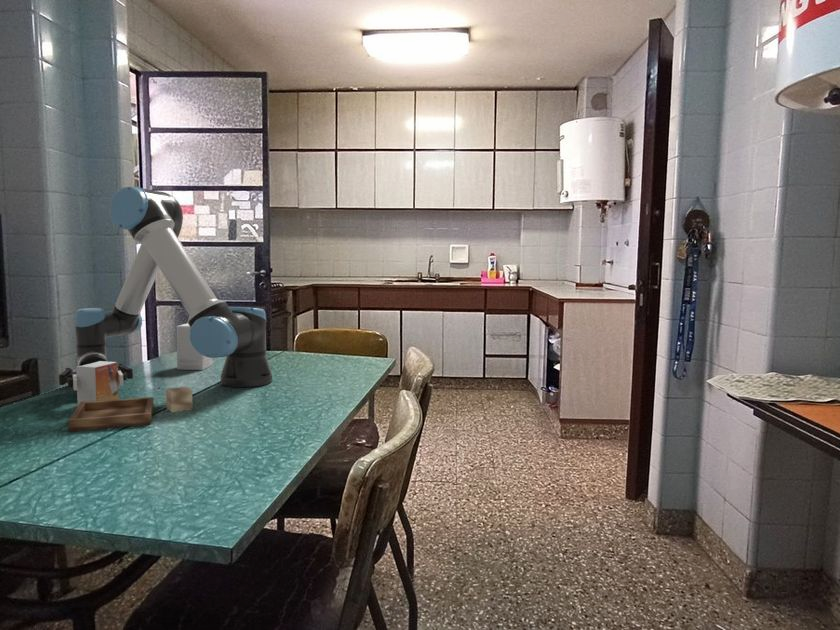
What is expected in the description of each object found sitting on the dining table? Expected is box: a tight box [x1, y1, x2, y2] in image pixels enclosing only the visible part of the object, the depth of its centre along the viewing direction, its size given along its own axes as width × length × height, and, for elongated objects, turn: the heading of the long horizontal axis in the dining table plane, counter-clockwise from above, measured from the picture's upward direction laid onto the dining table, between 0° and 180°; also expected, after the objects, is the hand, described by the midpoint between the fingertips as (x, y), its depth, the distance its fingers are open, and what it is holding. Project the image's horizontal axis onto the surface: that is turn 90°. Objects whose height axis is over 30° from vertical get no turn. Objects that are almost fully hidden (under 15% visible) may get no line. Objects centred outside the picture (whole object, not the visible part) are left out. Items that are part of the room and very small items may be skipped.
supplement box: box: [176, 322, 213, 371], centre depth 189 cm, size 9×9×15 cm
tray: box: [67, 396, 155, 433], centre depth 130 cm, size 16×16×2 cm
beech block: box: [165, 386, 193, 413], centre depth 139 cm, size 5×5×5 cm
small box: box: [75, 361, 120, 406], centre depth 141 cm, size 8×6×10 cm
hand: (99, 382), depth 137 cm, fingers closed on small box, 9 cm apart
